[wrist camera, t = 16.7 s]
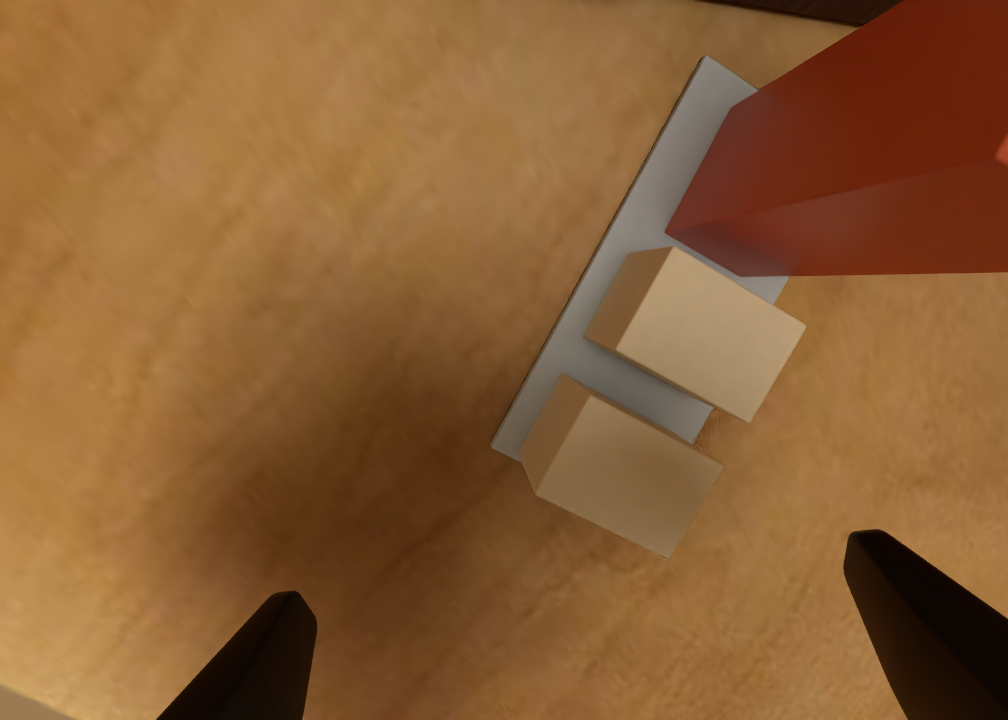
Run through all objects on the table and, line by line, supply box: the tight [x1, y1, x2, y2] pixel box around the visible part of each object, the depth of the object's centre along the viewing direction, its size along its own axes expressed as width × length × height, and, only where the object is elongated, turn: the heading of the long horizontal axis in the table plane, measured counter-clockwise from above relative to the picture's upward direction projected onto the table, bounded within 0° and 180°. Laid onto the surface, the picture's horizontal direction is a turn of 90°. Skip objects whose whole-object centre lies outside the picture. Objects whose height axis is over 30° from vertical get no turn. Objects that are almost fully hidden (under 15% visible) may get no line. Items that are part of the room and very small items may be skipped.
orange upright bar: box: [665, 0, 1008, 277], centre depth 14 cm, size 5×4×12 cm
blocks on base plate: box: [490, 55, 807, 559], centre depth 18 cm, size 16×7×4 cm, turn 151°
